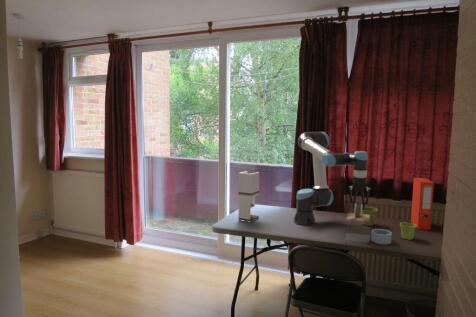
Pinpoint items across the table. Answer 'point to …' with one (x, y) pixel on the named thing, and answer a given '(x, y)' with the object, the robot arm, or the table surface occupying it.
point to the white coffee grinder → (247, 194)
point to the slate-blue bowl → (381, 236)
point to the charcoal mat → (357, 237)
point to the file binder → (422, 203)
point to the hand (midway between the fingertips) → (358, 214)
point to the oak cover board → (363, 217)
